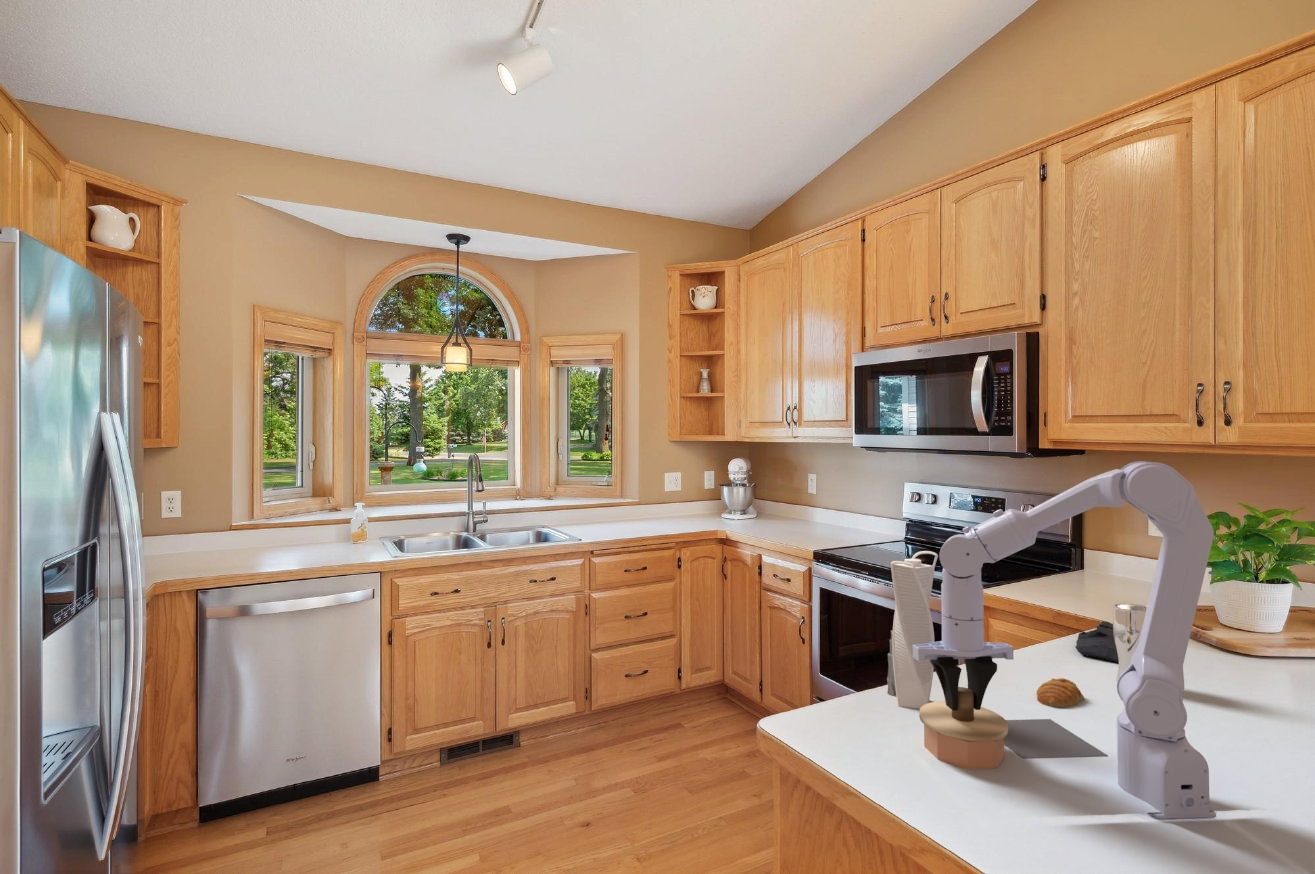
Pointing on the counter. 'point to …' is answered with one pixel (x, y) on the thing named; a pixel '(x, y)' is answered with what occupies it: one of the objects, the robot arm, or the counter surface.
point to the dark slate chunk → (1098, 642)
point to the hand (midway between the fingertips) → (963, 707)
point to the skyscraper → (911, 632)
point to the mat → (1046, 740)
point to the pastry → (1059, 693)
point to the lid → (964, 719)
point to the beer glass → (1127, 631)
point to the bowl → (964, 750)
